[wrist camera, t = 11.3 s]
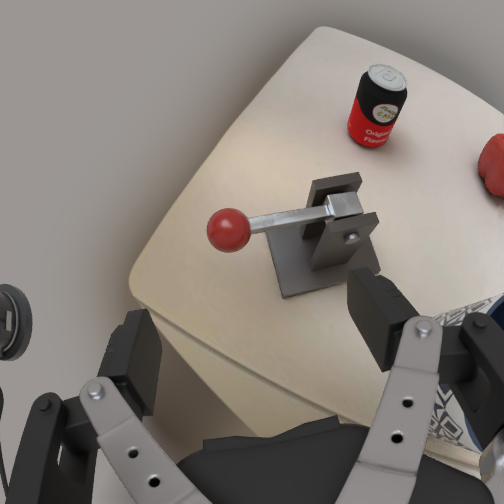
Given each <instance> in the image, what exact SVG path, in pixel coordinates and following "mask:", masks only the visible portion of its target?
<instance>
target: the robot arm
mask: <svg viewBox="0 0 504 504" xmlns="http://www.w3.org/2000/svg"><path fill="white" fill-rule="evenodd" d="M347 304H348V310H349V313H350V316H351V317H352V319H353V321H354V323H355V324H356V326H357V328H358V330H359V331H360V333H361V335H362V337H363V339H364V340H365V342H366V344H367V346H368V348H369V349H370V351H371V353H372V355H373V357H374V358H375V360H376V362H377V364H378V366H379V368H380V369H381V371H382V372H385V371H389V370H391V371H390V374H389V377H388V380H387V383H386V386H385V389H384V392H383V395H382V398H381V401H380V404H379V407H378V409H377V412H376V415H375V418H374V420H373V423H372V425H371V428H369V427H366V426H362V425H357V424H346V423H344V424H340V423H339V420H338V417H337V415H335V416H332V417H328V418H324V419H320V420H316V421H312V422H308V423H304V424H302V425H300V426H297V427H295V428H293V429H291V430H288V431H286V432H284V433H282V434H279V435H277V436H274V437H271V438H262V437H243V436H242V437H241V436H232V437H224V438H216V439H207V440H203V449H202V450H199V451H197V452H194V453H192V454H190V455H189V456H187V457H185V458H184V459H182V460H181V461H180V462H179V463H177V464H176V465H175V464H174V463H173V461H172V460H171V459H170V458H169V457H168V456H167V454H166V453H165V452H164V451H163V449H162V448H161V447H160V446H159V445H158V443H157V442H156V441H155V440H154V438H153V437H152V436H151V435H150V433H149V432H148V431H147V430H146V428H145V427H144V426H143V424H142V417H143V416H152V415H153V411H154V404H155V396H156V388H157V382H158V375H159V368H160V361H161V355H162V344H161V340H160V337H159V335H158V332H157V330H156V328H155V325H154V323H153V321H152V318H151V316H150V313H149V311H148V310H147V309H140V310H134V311H129V312H128V313H127V315H126V318H125V321H124V324H123V325H119V326H118V327H117V328H116V329H115V330H114V332H113V333H112V334H111V337H110V340H109V343H108V344H109V345H107V348H106V352H105V354H104V357H103V360H102V363H101V366H100V369H99V372H98V375H97V377H96V378H93V379H91V380H90V381H88V382H87V383H86V384H85V385H84V386H83V387H82V388H81V390H80V394H79V396H77V397H73V398H70V399H67V400H64V401H62V400H61V399H60V397H59V396H58V395H57V394H55V393H52V392H49V393H45V394H43V395H41V396H40V397H38V398H37V399H36V400H35V401H34V403H33V405H32V407H31V410H30V413H29V416H28V419H27V422H26V426H25V428H24V431H23V435H22V438H21V441H20V445H19V448H18V452H17V455H16V459H15V463H14V466H13V470H12V474H11V479H10V483H9V487H8V484H7V479H6V474H5V469H4V464H3V458H2V451H1V444H0V474H1V479H2V484H3V488H4V492H5V496H6V502H5V504H91V503H92V492H93V483H94V473H95V465H96V458H97V451H98V449H100V448H101V449H102V451H103V453H104V454H105V456H106V458H107V460H108V461H109V463H110V465H111V466H112V468H113V469H114V471H115V473H116V474H117V476H118V477H119V479H120V481H121V482H122V483H123V485H124V487H125V488H126V489H127V491H128V493H129V494H130V495H131V497H132V498H133V499H134V501H135V502H136V504H504V331H503V330H502V329H501V327H500V326H499V325H498V324H497V323H496V322H495V320H494V319H493V318H492V317H490V316H489V315H487V314H485V313H482V312H471V313H469V314H467V315H466V316H465V317H464V318H463V321H462V324H461V325H456V326H441V324H440V323H439V322H438V321H437V320H435V319H433V318H431V317H428V316H420V315H419V313H418V312H417V311H416V310H415V308H414V307H413V306H412V305H411V304H410V302H409V301H408V300H407V299H406V298H405V296H403V295H402V293H401V292H400V291H399V289H397V287H396V286H395V285H394V284H393V282H392V281H391V280H389V279H387V278H385V277H383V276H381V275H379V276H375V275H374V274H373V273H372V271H371V270H370V269H369V268H368V267H367V266H363V267H359V268H354V269H350V270H348V273H347ZM19 329H20V313H19V308H18V305H17V303H16V301H15V299H14V298H13V296H12V295H11V294H9V293H7V292H4V291H1V290H0V357H5V354H6V352H7V351H8V350H9V349H11V348H12V347H13V345H14V344H15V342H16V340H17V337H18V334H19ZM481 369H482V370H481ZM483 372H484V373H483ZM485 375H486V376H485ZM487 378H488V379H487ZM438 384H448V386H449V388H450V389H451V391H452V393H453V395H454V396H455V398H456V400H457V402H458V404H459V405H460V407H461V409H462V411H463V413H464V415H465V417H466V418H467V420H468V422H469V424H470V426H471V428H472V430H473V432H474V434H475V436H476V438H477V440H478V442H479V444H480V446H481V448H482V450H483V452H482V454H481V456H480V460H479V468H480V475H481V480H479V479H478V478H476V477H474V476H471V475H469V474H467V473H464V472H462V471H460V470H457V469H455V468H453V467H451V466H448V465H446V464H444V463H442V462H439V461H437V460H435V459H433V458H431V457H429V456H427V455H425V454H423V450H424V446H425V443H426V439H427V435H428V431H429V427H430V422H431V418H432V413H433V409H434V404H435V399H436V393H437V388H438ZM3 402H4V399H3V393H2V390H1V388H0V419H1V414H2V410H3ZM60 445H61V446H62V452H61V457H60V462H59V466H58V462H57V459H58V453H59V449H60Z"/></svg>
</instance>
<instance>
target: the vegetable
mask: <svg viewBox="0 0 504 504" xmlns="http://www.w3.org/2000/svg"><path fill="white" fill-rule="evenodd" d="M478 170H479V173H480V175H481V176H482V177H483V178H484V179H485V186H486V187H487V189H488V190H489V191H490V192H491V193H492V194H493V195H498V196H500V197H501V198H503V199H504V134H496V135H495V136H493V137H491V139H490V140H489V141H488V142H487V144H486V145H485V147H484V149H483V151H482V153H481V155H480V158H479V161H478Z"/></svg>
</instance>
